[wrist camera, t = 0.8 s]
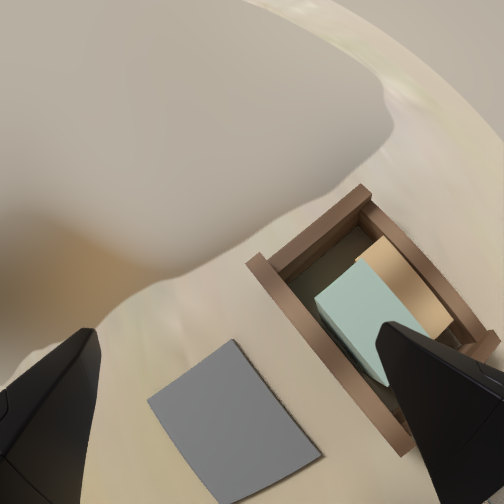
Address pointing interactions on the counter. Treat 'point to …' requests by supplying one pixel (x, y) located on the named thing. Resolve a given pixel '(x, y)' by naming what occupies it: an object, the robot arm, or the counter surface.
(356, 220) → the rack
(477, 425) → the robot arm
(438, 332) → the offcut top
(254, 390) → the mat
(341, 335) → the grey-green rectangular block
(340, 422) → the counter surface
